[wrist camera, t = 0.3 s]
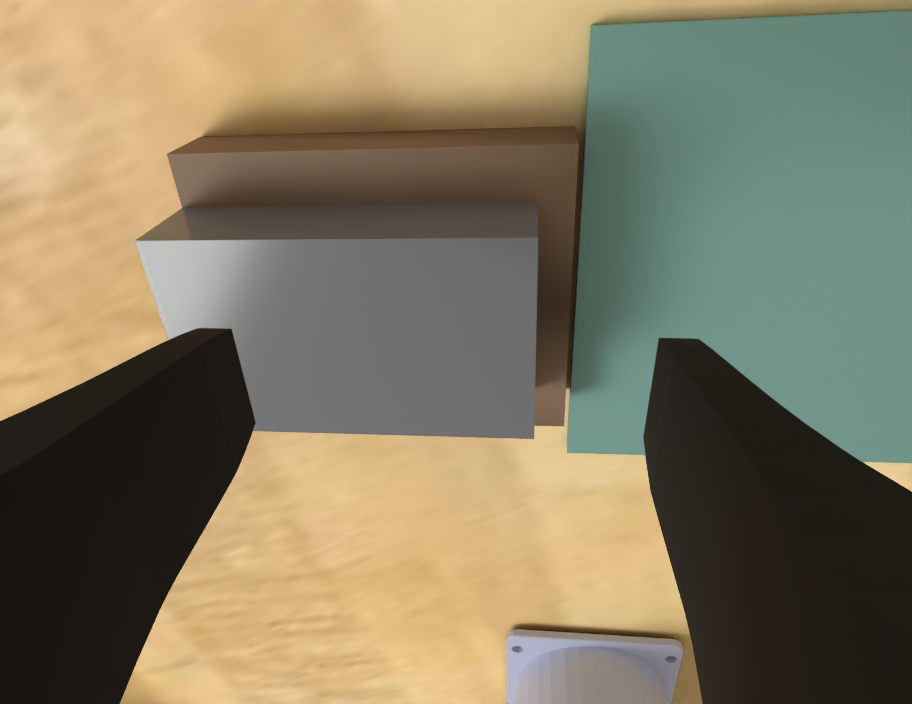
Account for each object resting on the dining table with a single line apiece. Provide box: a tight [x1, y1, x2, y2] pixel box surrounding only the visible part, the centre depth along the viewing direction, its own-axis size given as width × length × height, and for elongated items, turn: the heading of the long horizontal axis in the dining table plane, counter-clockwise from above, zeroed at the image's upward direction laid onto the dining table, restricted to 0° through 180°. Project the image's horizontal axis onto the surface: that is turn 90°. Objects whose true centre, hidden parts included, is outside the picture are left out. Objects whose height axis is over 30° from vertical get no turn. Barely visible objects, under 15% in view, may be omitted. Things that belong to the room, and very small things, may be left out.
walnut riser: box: [167, 126, 579, 426], centre depth 19 cm, size 9×11×2 cm
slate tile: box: [135, 203, 538, 439], centre depth 18 cm, size 6×10×2 cm, turn 93°
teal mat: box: [567, 10, 912, 463], centre depth 19 cm, size 14×14×1 cm
